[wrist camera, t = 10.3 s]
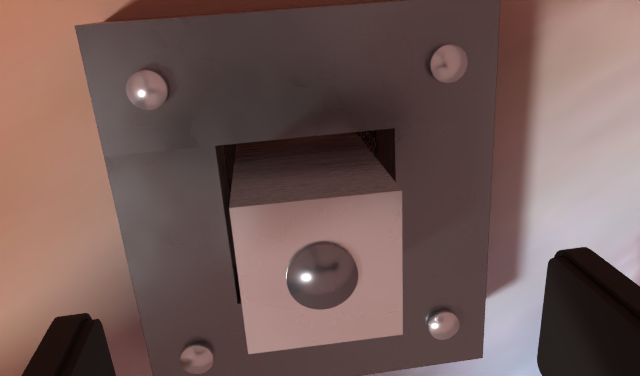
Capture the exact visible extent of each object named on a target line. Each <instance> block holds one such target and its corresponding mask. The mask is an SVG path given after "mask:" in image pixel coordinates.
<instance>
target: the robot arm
mask: <svg viewBox="0 0 640 376" xmlns="http://www.w3.org/2000/svg"><path fill="white" fill-rule="evenodd" d="M537 363H538V367H539V370H540V372H541V374H542V376H640V286H638V285H637V284H636V283H634V282H633V281H632V280H630V279H629V278H628V277H626V276H625V275H624V274H622V273H621V272H620V271H618V270H617V269H616V268H614V267H613V266H612V265H610V264H609V263H608V262H606V261H605V260H604V259H603V258H601V257H600V256H599V255H597V254H596V253H595V252H593V251H592V250H591V249H589V248H587V247H581V248H574V249H566V250H560V251H558V252H557V253H556V254H555V257H554V258H552V259H550V261H549V262H548V268H547V277H546V285H545V294H544V303H543V311H542V320H541V329H540V338H539V346H538V355H537ZM22 376H116V374H115V371H114V367H113V363H112V359H111V356H110V352H109V348H108V345H107V341H106V337H105V333H104V330H103V326H102V323H101V321H100V320H99V319H94V320H92V318H91V316H90V315H89V314H87V313H83V314H76V315H68V316H60V317H56V318H55V319H54V320H53V322H52V323H51V325H50V327H49V329H48V330H47V332H46V334H45V336H44V337H43V339H42V341H41V343H40V344H39V346H38V348H37V350H36V351H35V353H34V355H33V357H32V358H31V360H30V362H29V364H28V366H27V367H26V369H25V371H24V373H23V374H22Z"/></svg>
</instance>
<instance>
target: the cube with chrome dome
mask: <svg viewBox="0 0 640 376" xmlns="http://www.w3.org/2000/svg"><path fill="white" fill-rule="evenodd" d="M229 211H230V219H231V226H232V234H233V241H234V249H235V257H236V264H237V272H238V280H239V287H240V295H241V303H242V310H243V318H244V326H245V333H246V341H247V349H248V354H255V353H262V352H270V351H278V350H286V349H294V348H301V347H309V346H317V345H325V344H333V343H340V342H348V341H356V340H364V339H372V338H379V337H387V336H395V335H403V272H402V190H401V189H400V187H399V186H398V185H397V184H396V182H395V181H394V180H393V179H392V177H391V176H390V175H389V174H388V172H387V171H386V170H385V168H384V167H383V166H382V165H381V163H380V162H379V161H378V160H377V158H376V157H375V156H374V155H373V153H372V152H371V151H370V150H369V148H368V147H367V146H366V145H365V143H364V142H363V141H362V140H361V138H360V137H359V136H358V135H357V133H356V132H350V133H340V134H330V135H320V136H309V137H299V138H289V139H279V140H269V141H259V142H249V143H238V144H236V152H235V161H234V170H233V179H232V187H231V196H230V205H229Z"/></svg>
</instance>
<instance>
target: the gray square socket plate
mask: <svg viewBox="0 0 640 376" xmlns="http://www.w3.org/2000/svg"><path fill="white" fill-rule="evenodd" d="M499 20H500V0H391V1H377V2H364V3H351V4H337V5H324V6H310V7H297V8H284V9H270V10H257V11H244V12H230V13H217V14H204V15H190V16H177V17H164V18H150V19H137V20H124V21H110V22H99V23H92V24H84V25H76V26H75V29H76V34H77V38H78V43H79V47H80V52H81V56H82V61H83V65H84V70H85V74H86V78H87V83H88V87H89V92H90V96H91V101H92V105H93V110H94V114H95V119H96V123H97V128H98V132H99V136H100V141H101V145H102V150H103V154H104V159H105V163H106V168H107V172H108V177H109V181H110V186H111V190H112V194H113V199H114V203H115V208H116V212H117V217H118V221H119V226H120V230H121V235H122V239H123V244H124V248H125V252H126V257H127V261H128V266H129V270H130V275H131V279H132V284H133V288H134V293H135V297H136V302H137V306H138V310H139V315H140V319H141V324H142V328H143V333H144V337H145V342H146V346H147V351H148V355H149V360H150V364H151V368H152V373H153V376H360V375H367V374H374V373H381V372H388V371H395V370H402V369H409V368H416V367H423V366H430V365H436V364H443V363H450V362H457V361H464V360H471V359H478V358H483V340H484V320H485V300H486V280H487V260H488V240H489V220H490V200H491V180H492V160H493V140H494V120H495V100H496V80H497V60H498V40H499ZM370 130H375V131H376V158H377V160H378V161H379V162H380V163H381V165H382V166H383V167H384V168H385V170H386V171H387V172H388V174H389V175H390V176H391V177H392V179H393V180H394V181H395V182H396V184H397V185H398V186H399V187H400V189H401V190H402V272H403V335H395V336H387V337H379V338H372V339H364V340H356V341H348V342H340V343H333V344H325V345H317V346H309V347H301V348H294V349H286V350H278V351H270V352H262V353H255V354H248V349H247V341H246V333H245V326H244V318H243V310H242V303H241V295H240V287H239V280H238V272H237V264H236V257H235V249H234V241H233V234H232V226H231V219H230V211H229V205H230V193H229V186H228V179H227V172H226V164H225V157H224V150H223V145H228V144H238V143H249V142H259V141H269V140H279V139H289V138H299V137H309V136H320V135H330V134H340V133H350V132H360V131H370Z"/></svg>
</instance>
